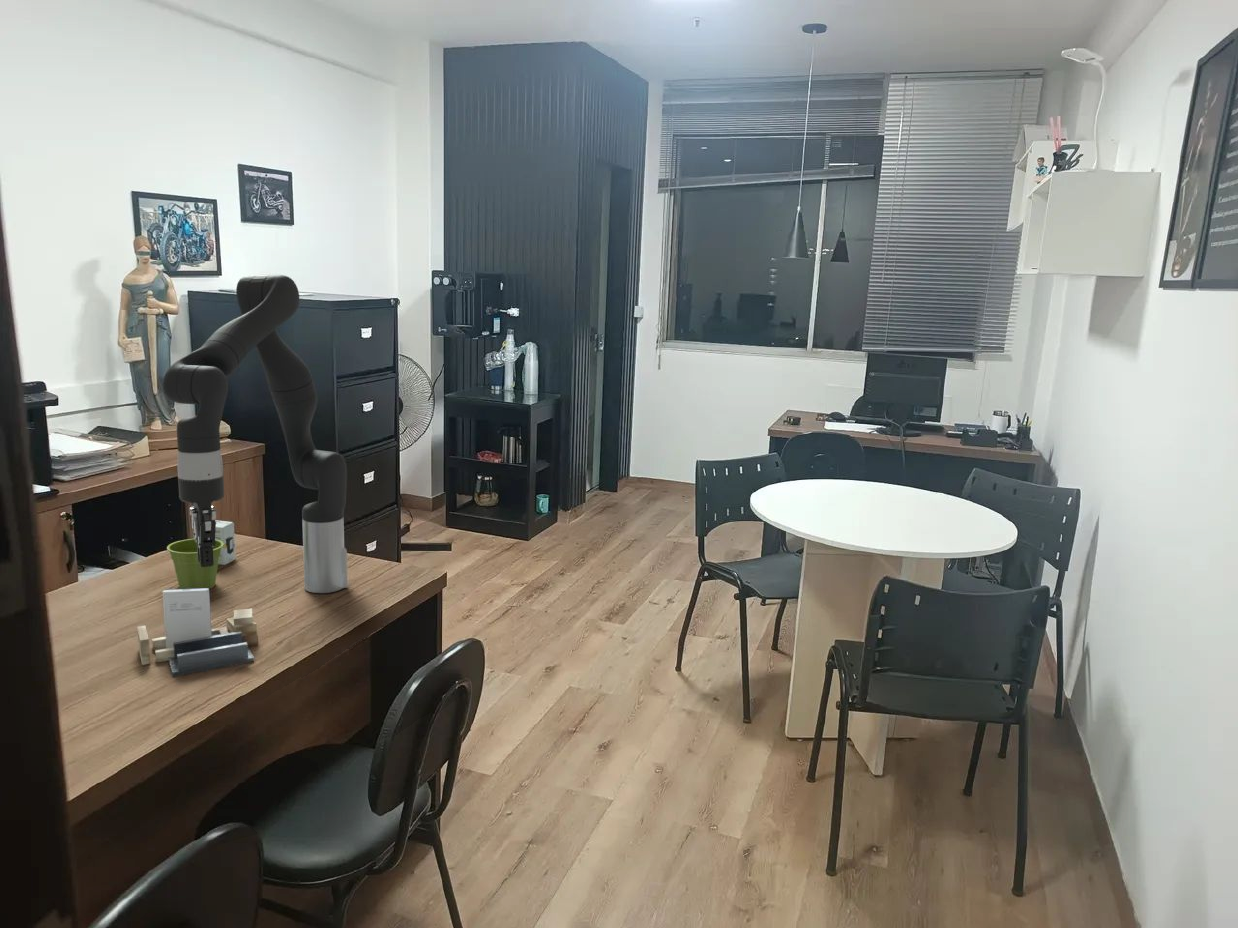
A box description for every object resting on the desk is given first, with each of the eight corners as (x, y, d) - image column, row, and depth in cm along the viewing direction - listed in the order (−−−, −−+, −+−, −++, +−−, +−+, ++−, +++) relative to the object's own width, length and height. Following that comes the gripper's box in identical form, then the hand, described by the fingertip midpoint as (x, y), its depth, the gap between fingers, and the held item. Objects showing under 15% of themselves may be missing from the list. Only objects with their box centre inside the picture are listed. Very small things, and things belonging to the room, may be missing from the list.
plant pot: (204, 602, 193) (202, 554, 191) (158, 597, 195) (154, 550, 193) (236, 585, 205) (234, 540, 202) (192, 580, 207) (189, 535, 204)
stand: (247, 647, 171) (246, 629, 170) (253, 661, 165) (253, 643, 164) (168, 661, 163) (167, 643, 162) (172, 676, 157) (171, 657, 157)
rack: (226, 635, 176) (225, 612, 175) (232, 648, 170) (231, 625, 169) (138, 650, 167) (137, 626, 166) (142, 664, 161) (140, 640, 160)
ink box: (193, 569, 215) (191, 523, 212) (206, 563, 219) (203, 518, 217) (225, 572, 213) (222, 526, 211) (236, 566, 218) (234, 521, 216)
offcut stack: (251, 631, 179) (250, 605, 177) (258, 643, 173) (257, 617, 172) (226, 635, 176) (225, 609, 175) (232, 648, 170) (231, 621, 169)
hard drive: (168, 648, 169) (163, 589, 166) (212, 646, 171) (209, 587, 168) (166, 652, 167) (161, 592, 165) (211, 649, 169) (207, 590, 167)
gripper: (229, 480, 153) (233, 571, 156) (217, 465, 164) (221, 551, 168) (182, 483, 149) (188, 577, 152) (173, 468, 160) (179, 556, 164)
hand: (205, 563), depth 160 cm, fingers closed
